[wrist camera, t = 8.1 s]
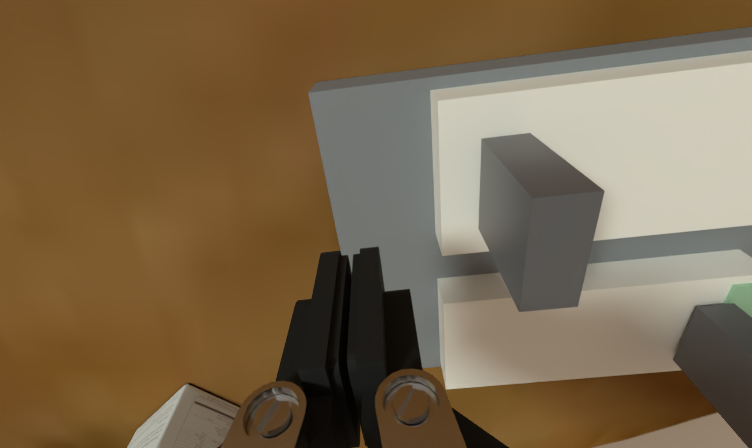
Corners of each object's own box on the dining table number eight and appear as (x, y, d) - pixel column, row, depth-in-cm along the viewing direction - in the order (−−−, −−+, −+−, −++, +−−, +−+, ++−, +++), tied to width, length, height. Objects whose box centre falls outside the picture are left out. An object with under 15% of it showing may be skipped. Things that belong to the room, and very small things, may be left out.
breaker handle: (696, 306, 18) (798, 399, 14) (734, 303, 18) (848, 396, 14) (672, 359, 20) (754, 454, 16) (706, 356, 20) (797, 451, 16)
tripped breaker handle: (481, 138, 13) (532, 198, 9) (530, 132, 13) (604, 190, 9) (478, 228, 16) (519, 312, 11) (520, 224, 15) (578, 306, 11)
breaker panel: (316, 82, 17) (298, 104, 13) (905, 7, 16) (1092, 6, 12) (366, 343, 26) (364, 403, 22) (739, 310, 25) (811, 368, 21)
